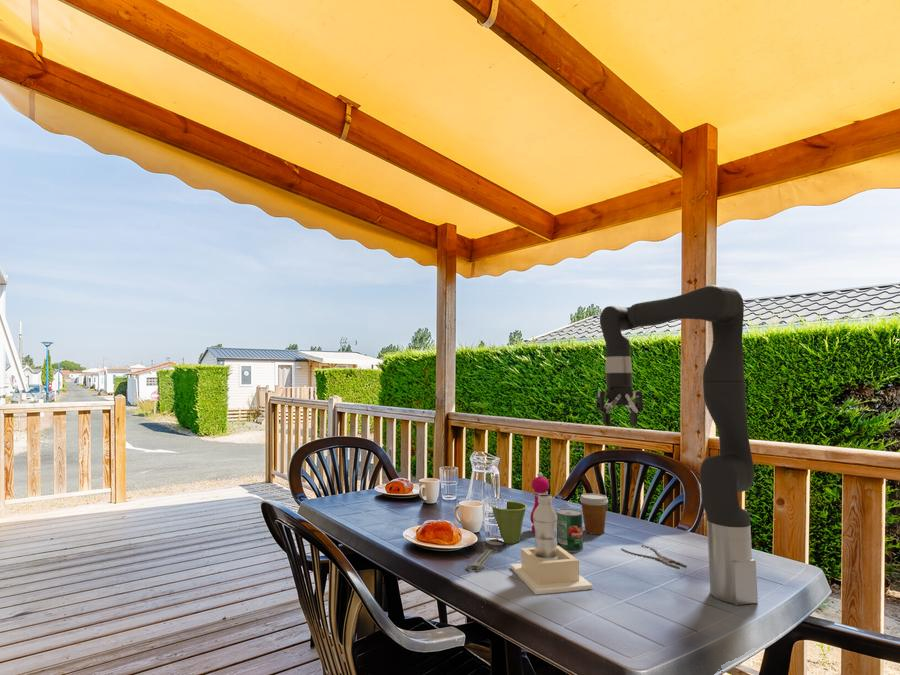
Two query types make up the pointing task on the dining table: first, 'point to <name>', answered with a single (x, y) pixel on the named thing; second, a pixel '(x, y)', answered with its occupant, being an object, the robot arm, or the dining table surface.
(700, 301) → the robot arm
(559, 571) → the housing
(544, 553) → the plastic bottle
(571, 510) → the canned tomato
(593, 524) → the disposable coffee cup
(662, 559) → the pliers
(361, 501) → the dining table surface
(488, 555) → the wrench
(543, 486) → the pepper mill
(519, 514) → the plant pot
